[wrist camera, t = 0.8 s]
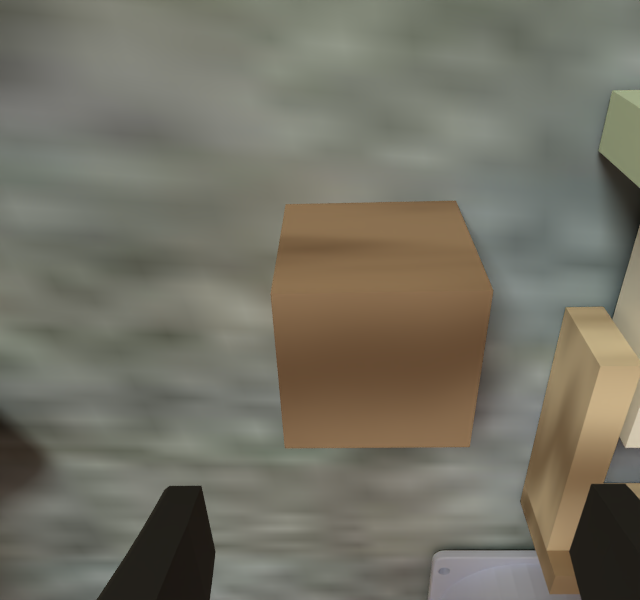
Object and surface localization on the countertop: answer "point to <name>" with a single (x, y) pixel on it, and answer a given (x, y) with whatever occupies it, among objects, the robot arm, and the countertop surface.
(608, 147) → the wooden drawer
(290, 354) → the walnut block
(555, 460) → the organiser frame
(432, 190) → the countertop surface
